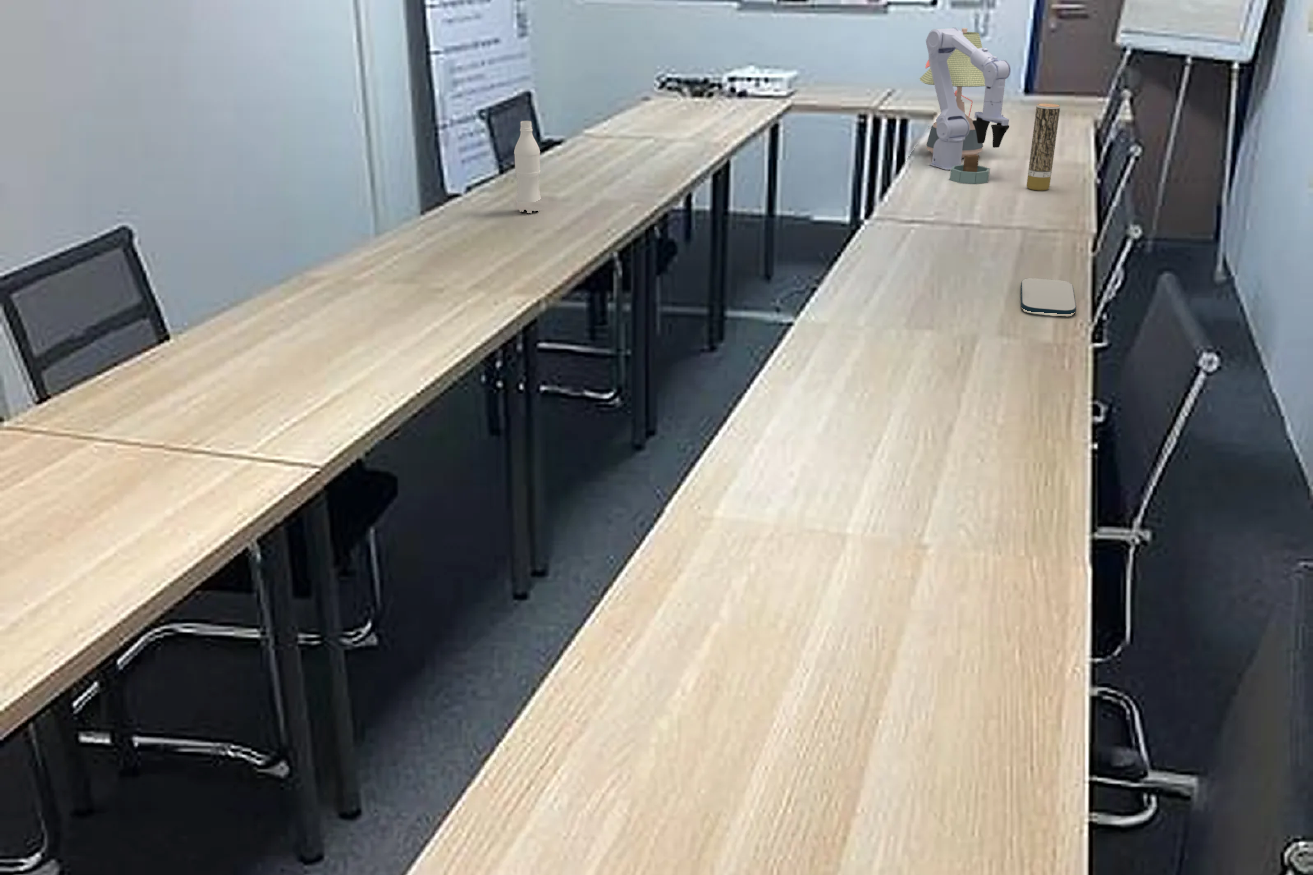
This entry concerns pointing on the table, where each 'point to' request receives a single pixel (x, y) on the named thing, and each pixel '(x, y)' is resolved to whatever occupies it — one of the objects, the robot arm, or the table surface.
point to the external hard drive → (1047, 296)
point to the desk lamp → (960, 91)
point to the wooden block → (971, 163)
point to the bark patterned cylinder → (1043, 146)
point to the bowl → (969, 175)
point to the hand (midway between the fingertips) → (988, 145)
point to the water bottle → (527, 165)
